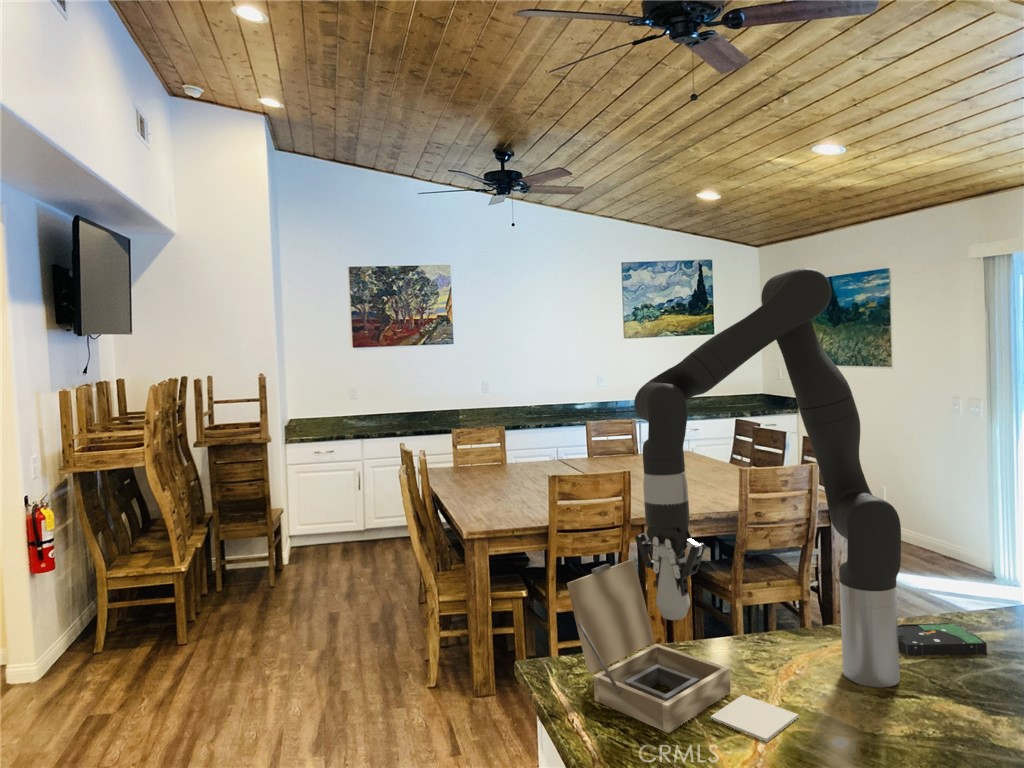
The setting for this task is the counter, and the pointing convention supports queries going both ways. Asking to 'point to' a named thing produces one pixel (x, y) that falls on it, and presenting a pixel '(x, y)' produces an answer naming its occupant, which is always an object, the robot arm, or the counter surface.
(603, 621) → the lid
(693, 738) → the counter surface
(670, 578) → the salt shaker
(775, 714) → the tile
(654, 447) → the robot arm
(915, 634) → the disk drive
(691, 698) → the case
